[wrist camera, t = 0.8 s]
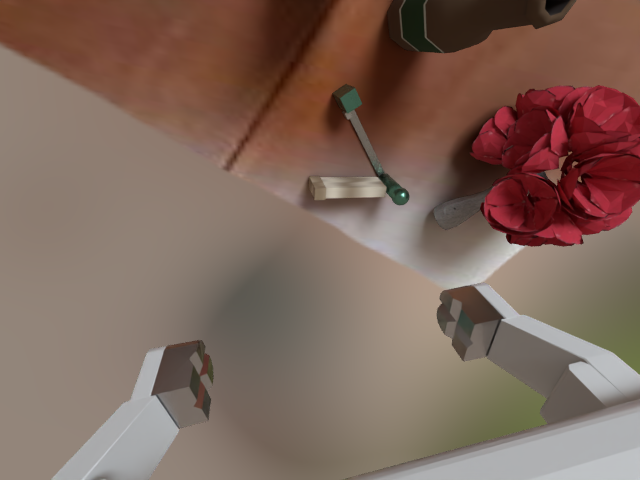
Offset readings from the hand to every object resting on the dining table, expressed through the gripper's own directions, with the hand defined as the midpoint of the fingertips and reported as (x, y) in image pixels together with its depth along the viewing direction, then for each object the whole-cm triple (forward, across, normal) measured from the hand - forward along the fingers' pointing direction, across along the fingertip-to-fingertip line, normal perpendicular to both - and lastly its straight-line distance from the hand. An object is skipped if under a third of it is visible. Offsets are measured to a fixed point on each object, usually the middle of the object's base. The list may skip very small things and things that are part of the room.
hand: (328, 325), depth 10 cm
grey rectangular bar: (+41, -11, +12) cm, 44 cm away
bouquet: (+42, -39, +12) cm, 59 cm away
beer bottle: (+41, -21, -10) cm, 48 cm away
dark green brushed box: (+41, -11, -1) cm, 43 cm away
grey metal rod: (+42, -15, +6) cm, 45 cm away
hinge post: (+42, -19, +13) cm, 48 cm away
